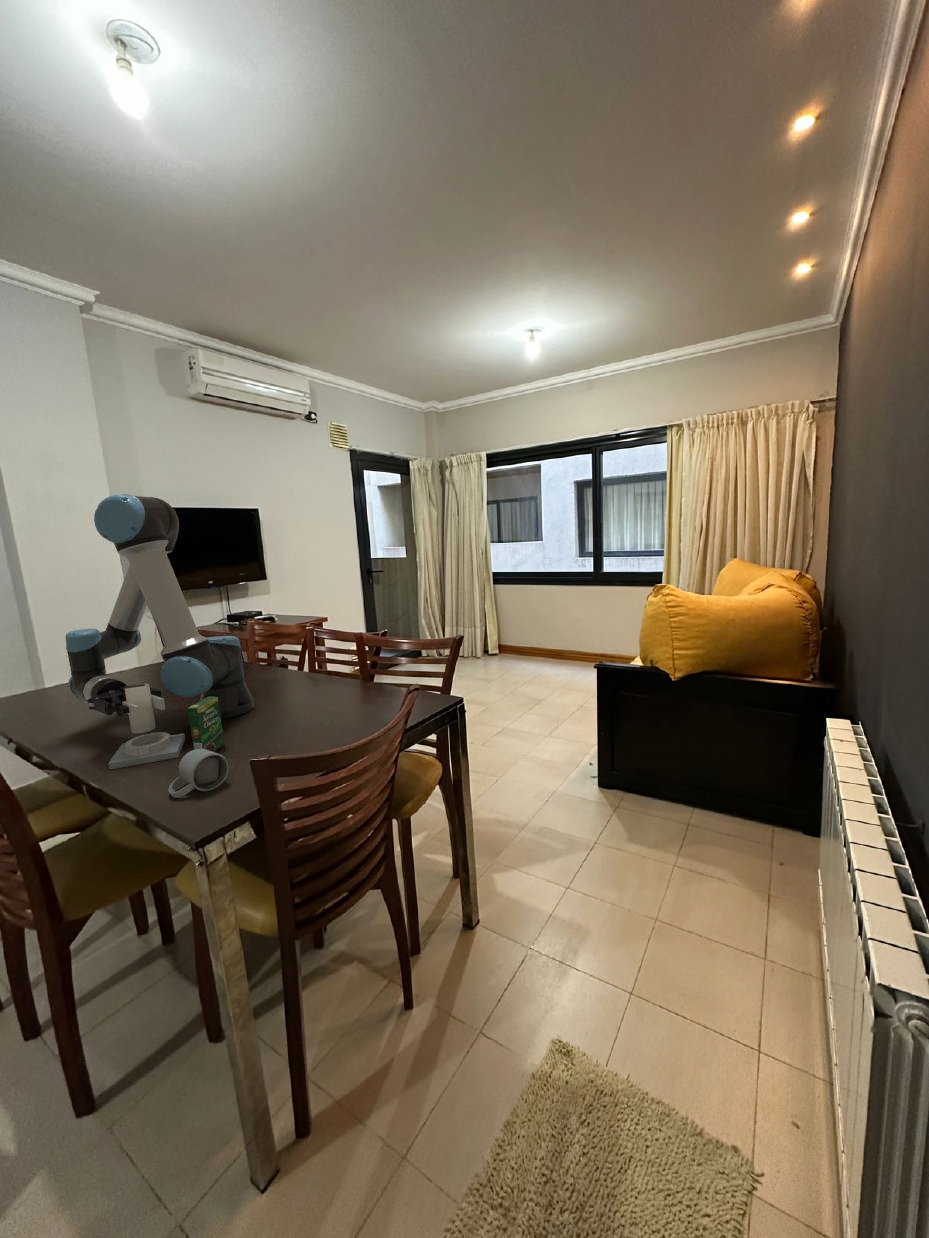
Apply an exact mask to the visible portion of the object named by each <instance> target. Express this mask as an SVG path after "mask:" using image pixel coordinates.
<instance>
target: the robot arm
mask: <svg viewBox="0 0 929 1238" xmlns="http://www.w3.org/2000/svg"><path fill="white" fill-rule="evenodd" d="M93 520H94V522H93V523H94V526H95V528H96V531H97V533H98V534H99V535H100V536H101V537H102V538H104V539H106V541H108V542H110V543H113V545H114V547H115V549H116V552H117V553H118V554H119V555H120V556H122V557H124V558H126V559H127V561H128V562H129V564H128V568H127V570H126V573H125V576H124V578H123V580H122V581H123V582H122V585H121V587H120V589H119V592H118V595H117V599H116V601H115V604H114V606H113V609H112V612H111V614H110V618H109V620H108V623H107V625H106V628H105V630H103V631H99V629H97V628H82V629H77V630H70V631H69V632H68V633H66V634H65V650H66V651H67V657H68V663H69V668H70V678H69V680H68V681H67V689H68V691H69V692H70V693H71V694H72V695H73V696H75V697H76V699H79V700H83V701H86V702H87V707H88V710H92V711H93V710H94V711H96V712H99V713H102V714H104V715H105V716H112V715H114V713H116V716H117V717H122V716H124V715H125V714H126V715H128V716H129V715H130V716H133V717H135V718H138V717H140V712H139V706H137V705H135V704H132V703H129V702H127V700H126V694H125V686H128V685H127V683H125V682H124V681H121V680H119V679H116V678H113V677H110V676H107V670H106V663H105V660H106V659H109V658H111V657H115V656H117V655H120V654H123V653H126V652H129V651H131V650H133V649H134V648H135V649H136V647H138V646H139V645H140V643H141V641H142V636H141V635H142V634H141V632H140V630H139V628H140V624H141V622H142V619H143V617H144V614H145V612H146V609H147V607H148V609H149V612H150V614H151V616H152V620H153V622H154V623H155V626H156V629H157V631H158V634H159V636H160V638H161V641H162V642H163V648H162V649H161V652H160V655H161V658H162V660H163V662H164V663H163V665H162V666H161V670H160V671H159V675H160V676H159V677H160V681H161V683H162V685H163V687H165V689H167V691H168V692H170V693H172V694H173V695H176V696H178V697H180V698H181V697H182V698H194V697H197V696H199V695H200V699H199V702H200V701H202V700H203V699H205V698H207V697H208V696H215V697H218V703H219V710H220V717H221V720H223V719H224V720H225V719H230V718H234V717H237V716H241V715H244V714H246V713H248V712H250V711H251V710H253V709H254V707H255V704H254V698H253V696H252V695H251V692H250V690H249V688H248V686H247V684H246V682H245V681H246V680H245V673H244V671H245V670H244V665H243V655H242V646H241V642H240V639H239V637H237V636H234V635H221V636H220V635H219V636H206V637H205V636H204V635H201V634H200V633H199V630H198V628H197V625H196V623H195V621H194V618H193V616H192V613H191V611H190V608H189V605H188V604H187V601H186V598H185V596H184V594H183V591H182V589H181V587H180V584H179V581H178V579H177V577H176V574H175V571H174V569H173V567H172V565H171V562H170V559H169V557H168V554H169V553H172V552H173V551H174V547H175V545H176V542H177V539H178V536H179V530H180V522H179V521H180V520H179V517H178V515H177V512H176V510H175V509H174V508H173V507H172V505H170V503H168V502H167V501H165V500H163V499H161V498H158V497H152V496H140V495H132V494H127V493H124V494H113V495H109V496H107V497H105V498H104V499H102V500H101V501H100V503H99V504H98V506H97V508H96V509H95V512H94V515H93ZM150 693H151V700H152V706H153V708H154V709H158V710H161V711H165V710H166V704H165V699H164V698H163V697H162V691H161V690H159V689H156V688H153V687H150Z"/></svg>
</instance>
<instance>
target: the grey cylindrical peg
mask: <svg viewBox="0 0 929 1238" xmlns="http://www.w3.org/2000/svg"><path fill="white" fill-rule="evenodd" d="M150 688H151V687H150V684H149V683H145V682H144V683H136V684H132V685H131V684H129V685H127V686H125V694H126V700H127V702H129V703H132V704H135V705H137V706H139V712H140V717H138V718H135V717H133V716H130V715H128V719H129V725H130V732H131V733H132V734H144V733H145V734H146V733H148V732H151V731H153V730H155V728H156V721H155V713H154V707H153V706H152V700H151V693H150Z"/></svg>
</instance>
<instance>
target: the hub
mask: <svg viewBox="0 0 929 1238" xmlns="http://www.w3.org/2000/svg"><path fill="white" fill-rule="evenodd" d="M185 740H186V735H185V733H184V732H183V733H177V734H172V735H171V734H170V733H168V732H166V731H163V732H162V731H158V732H157V731H156V732H149V733H145V734H144V733H143V734H141V735H138V736H135V737H133V738H131V739H130V740H127V741H126V742H125V743H121V744H120V746H119V747H118V749H117V750H116V752H115V753H114V755H113V756H112V758H110V761H109V762H108V768H109V769H110V770H115V769H120V768H126V767H132V766H137V765H143V764H149V763H155V762H160V761H167V760H172V759H176V758H177V759H178V758H179V756H180V754H181V751H182V749H183V745H184V743H185Z"/></svg>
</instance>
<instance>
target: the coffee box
mask: <svg viewBox="0 0 929 1238" xmlns="http://www.w3.org/2000/svg"><path fill="white" fill-rule="evenodd" d="M187 714H188V720H189V726H190V732H191V738H192V740H191V741H192V745H193V750H195V749H206V750H209V751H212V752H216V751H217V750H219V749H220V748H222V747H223V746H224V745H225V739H224V731H223V725H222V719H221V717H220V710H219V703H218V697H215V696H208V697H207V698H205V699H203V700H202V701H200V700H199V702H196V703H194V704H192V705H191V706H189V707H187Z"/></svg>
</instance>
